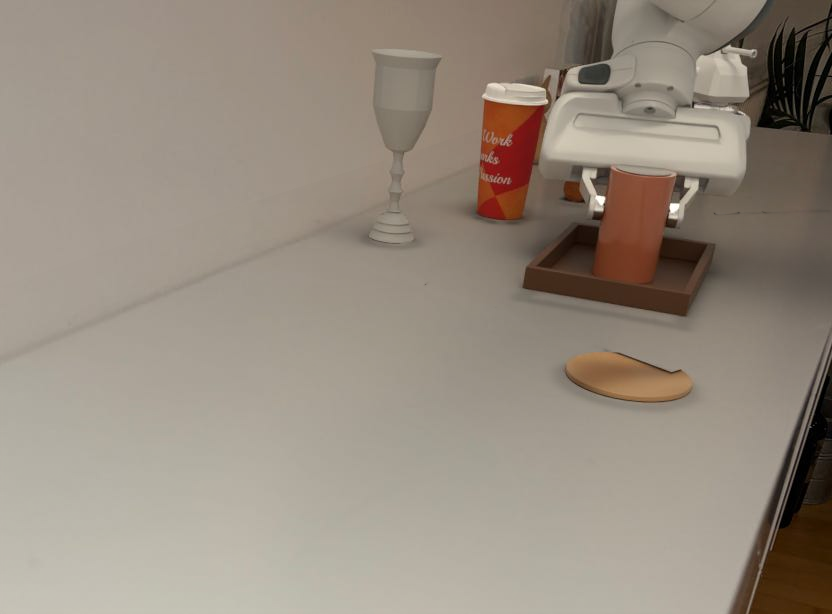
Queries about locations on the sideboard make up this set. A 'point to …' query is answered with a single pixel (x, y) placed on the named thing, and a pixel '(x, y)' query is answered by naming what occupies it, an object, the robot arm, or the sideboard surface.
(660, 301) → the tray
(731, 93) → the white mech figurine
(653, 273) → the cup
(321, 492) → the sideboard surface
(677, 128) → the robot arm
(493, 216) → the paper cup
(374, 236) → the chalice
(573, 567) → the sideboard surface
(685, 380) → the coaster
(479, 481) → the sideboard surface
